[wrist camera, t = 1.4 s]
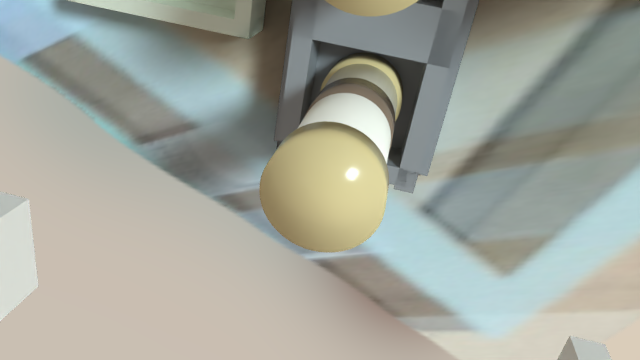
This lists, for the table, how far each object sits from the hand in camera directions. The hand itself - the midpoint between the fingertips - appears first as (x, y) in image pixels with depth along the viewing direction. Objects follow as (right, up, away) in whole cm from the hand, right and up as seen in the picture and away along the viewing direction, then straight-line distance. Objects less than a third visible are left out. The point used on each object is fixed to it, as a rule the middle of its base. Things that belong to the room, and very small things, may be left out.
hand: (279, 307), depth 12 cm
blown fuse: (+3, +8, +15) cm, 17 cm away
